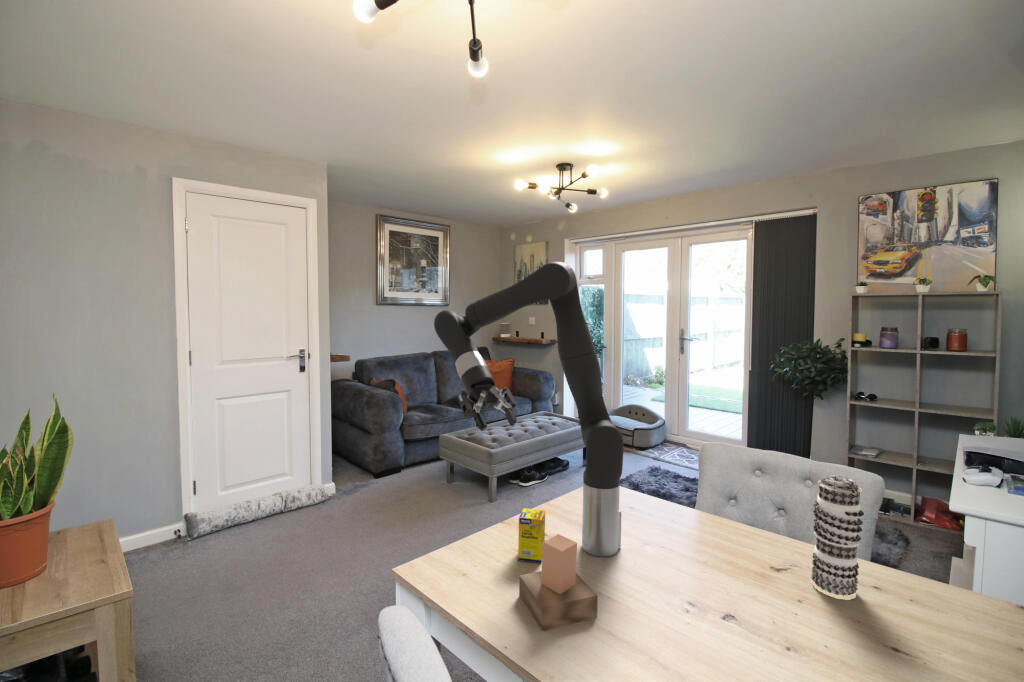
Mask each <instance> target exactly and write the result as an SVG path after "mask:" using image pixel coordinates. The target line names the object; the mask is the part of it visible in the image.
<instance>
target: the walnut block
mask: <svg viewBox="0 0 1024 682" xmlns="http://www.w3.org/2000/svg"><path fill="white" fill-rule="evenodd" d="M541 575H542V570H539V571H534V572H529V573H525V574H520V575H519V577H518V578H519V580H518V581H519V582H518V583H519V585H518V587H519V588H518V589H519V591H518V592H519V593H518V595H519V598H520V600H521V601H522V602H523V604H524V606H525V607H526V609H527V610H528V612H529V613H530V615H531V617H532V618H533V619H534V621H535V622H536V624H537V625H538V628H540V630H541V631H542V632H545V631H549V630H552V629H556V628H560V627H564V626H567V625H573V624H577V623H581V622H584V621H588V620H589V621H590V620H592V619H596V618H598V598H599V597H598V594H597V593H596V592H595V591H594V590H593V588H591V587H590V586H589V584H588V583H586V581H585V580H584V579H583V578H582V577H581V576H580V575H579V573H577V572H576V578H575V585H574V586H572V587H571V588H569V589H568V590H566V591H565V592H563V593H562V594H558V593H557V592H555V591H553V590H551V589H550V588H548V587H546V586H544V585H543V584H541Z"/></svg>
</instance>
